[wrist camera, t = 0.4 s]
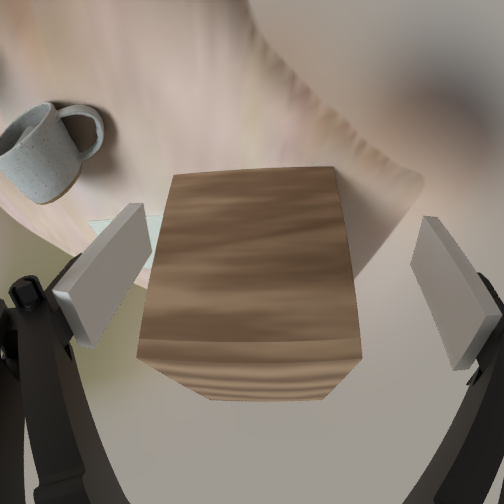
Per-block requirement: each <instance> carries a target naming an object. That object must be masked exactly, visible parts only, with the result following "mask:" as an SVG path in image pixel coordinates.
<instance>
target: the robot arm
mask: <svg viewBox="0 0 504 504" xmlns="http://www.w3.org/2000/svg"><path fill="white" fill-rule="evenodd" d="M151 254H152V247H151V242H150V237H149V232H148V227H147V221H146V216H145V210H144V205H143V203H129V204H128V205H127V206H126V207H125V208H124V209H123V210H122V211H121V212H120V213H119V214H118V215H117V216H116V218H115V219H114V220H113V221H112V222H111V223H110V224H109V225H108V226H107V227H106V228H105V229H104V230H103V231H102V232H101V233H100V235H99V236H98V237H97V238H96V239H95V240H94V241H93V242H92V243H91V244H90V246H89V247H88V248H87V249H86V250H85V251H84V252H83V253H80V254H79V255H77V256H76V257H74V258H73V259H71V260H70V261H69V263H68V264H67V265H66V266H65V268H64V269H63V270H62V271H61V272H60V274H59V275H57V277H56V278H55V279H54V280H53V281H52V283H51V284H50V285H49V286H48V287H47V289H46V290H45V291H43V289H42V286H41V284H40V282H39V280H38V277H36V276H34V275H28V276H24V277H22V278H20V279H18V280H17V281H16V282H15V283H13V284H12V286H11V287H10V289H9V292H8V293H9V294H10V296H11V298H12V301H13V302H14V304H15V306H16V308H7V306H6V304H5V302H4V300H2V299H0V353H1V351H2V352H3V356H2V358H1V354H0V504H26V503H25V489H24V424H25V418H26V423H27V430H28V435H29V439H30V445H31V450H32V454H33V458H34V462H35V466H36V470H37V474H38V478H39V486H38V487H37V488H35V489H34V493H33V496H34V501H35V504H130V503H129V501H128V500H127V498H126V497H125V495H124V493H123V491H122V489H121V487H120V485H119V482H118V480H117V478H116V476H115V474H114V471H113V469H112V467H111V464H110V462H109V460H108V457H107V455H106V452H105V450H104V447H103V445H102V442H101V440H100V437H99V434H98V432H97V429H96V426H95V423H94V420H93V418H92V415H91V412H90V409H89V406H88V402H87V400H86V396H85V393H84V389H83V386H82V383H81V380H80V376H79V372H78V368H77V364H76V360H75V356H74V352H73V348H72V346H71V344H70V342H69V341H70V340H71V338H72V336H73V335H74V337H75V339H76V340H77V343H78V344H79V345H80V346H84V347H88V348H93V349H95V348H96V346H97V344H98V342H99V340H100V338H101V337H102V335H103V333H104V331H105V330H106V328H107V326H108V324H109V322H110V321H111V319H112V317H113V316H114V314H115V312H116V310H117V309H118V307H119V305H120V304H121V302H122V300H123V299H124V297H125V295H126V294H127V292H128V290H129V289H130V287H131V285H132V284H133V282H134V281H135V279H136V277H137V276H138V274H139V273H140V271H141V269H142V268H143V266H144V265H145V263H146V261H147V260H148V258H149V257H150V255H151ZM411 267H412V269H413V272H414V274H415V276H416V278H417V281H418V283H419V285H420V287H421V289H422V292H423V294H424V296H425V299H426V301H427V303H428V306H429V308H430V311H431V313H432V316H433V318H434V321H435V323H436V326H437V328H438V331H439V333H440V336H441V339H442V341H443V344H444V347H445V349H446V352H447V355H448V358H449V361H450V364H451V367H452V369H453V371H457V370H465V369H469V368H470V367H471V365H472V364H473V362H474V361H475V359H477V361H478V364H479V367H478V369H477V370H476V372H475V373H474V374H473V376H472V377H471V378H470V380H469V381H468V382H467V384H466V385H469V384H470V386H469V388H468V390H467V392H466V395H465V397H464V399H463V401H462V403H461V406H460V408H459V410H458V412H457V414H456V416H455V418H454V420H453V422H452V424H451V426H450V428H449V430H448V432H447V434H446V435H445V437H444V439H443V441H442V443H441V445H440V446H439V448H438V450H437V452H436V453H435V455H434V457H433V458H432V460H431V462H430V463H429V465H428V466H427V468H426V470H425V471H424V473H423V475H422V476H421V478H420V479H419V481H418V482H417V484H416V485H415V486H414V488H413V489H412V491H411V492H410V494H409V495H408V497H407V498H406V499H405V501H404V502H403V504H483V502H484V500H485V498H486V496H487V494H488V492H489V490H490V488H491V486H492V483H493V481H494V479H495V476H496V474H497V472H498V469H499V467H500V464H501V462H502V459H503V456H504V304H503V302H502V301H501V299H500V298H499V297H498V294H497V293H496V291H495V290H494V288H493V286H492V285H491V283H490V282H489V280H488V279H487V278H486V277H484V276H483V275H482V274H481V273H477V272H476V271H475V269H474V268H473V266H472V265H471V263H470V262H469V260H468V259H467V257H466V256H465V255H464V253H463V252H462V250H461V249H460V247H459V246H458V244H457V243H456V242H455V240H454V239H453V238H452V236H451V235H450V233H449V232H448V231H447V230H446V228H445V227H444V225H443V224H442V223H441V222H440V220H439V219H438V218H437V217H430V216H423V220H422V224H421V228H420V232H419V236H418V239H417V243H416V247H415V250H414V254H413V257H412V261H411ZM498 504H504V480H503V484H502V489H501V493H500V498H499V502H498Z"/></svg>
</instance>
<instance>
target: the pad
mask: <svg viewBox="0 0 504 504" xmlns="http://www.w3.org/2000/svg"><path fill="white" fill-rule="evenodd" d="M162 219H163V215H158V216H146V221H147V227H148V232H149V237H150V242H151V247H152V254H151V255H150V257H149V258H148V260H147V261H146V263H145V265H144V266H143V268H152V264H153V259H154V255H155V250H156V245H157V241H158V236H159V232H160V228H161V223H162ZM113 220H114V219H109V220H98V221H89V223H88V224H89V225H90V227H91V228H92V229H93V231H94V232H95V233H96V235H97V236H99V235H100V233H101V232H102V231H103V230H104V229H105V228H106V227H107V226H108V225H109V224H110V223H111V222H112V221H113Z"/></svg>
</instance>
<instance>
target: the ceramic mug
mask: <svg viewBox="0 0 504 504" xmlns="http://www.w3.org/2000/svg"><path fill="white" fill-rule="evenodd" d="M76 114H79V115H85V116H87V117H91V118H93V119H94V121H95V123H96V128H97V129H96V133H97V135H98V138H97V140H96V142H95V143H94V144H92V145H91V146H90V147H89V148H87V149H86V150H84V151H82V152H79V150H78V149H77V147H76V145H75V143H74V142H73V140H72V139H71V137H70V135H69V134H68V132H67V130H66V128H65V126H64V124H63V122H62V120H61V118H62V117H66V116H70V115H76ZM103 139H104V123H103V120H102V118H101V116H100V115H99V113H98V112H97V111H96V110H95V109H94V108H92V107H89V106H86V105H73V106H68V107H65V108H62V109H60V110H56V109H55V107H54V105H53V104H52V103H50V102H44V103H41V104H38V105H36V106H34V107H32V108H30V109H29V110H27V111H25V112H24V113H23V114H22V115H20V116H19V117H18V118H17V119H15V120H14V121H13V122H12V123H11V124H10V125H9V126H8V127H7V128H6V129H5V131H4V132H3V133H2V134H1V136H0V170H1V171H2V172H3V173H4V174H5V175H6V176H7V177H8V179H9V180H10V181H11V182H12V183H13V184H14V185H15V186H16V187H17V188H18V189H19V190H20V191H21V192H22V193H23V194H24V195H25V196H26V197H27V198H29V199H30V200H32V201H33V202H35V203H37V204H41V205H44V204H48V203H51V202H54V201H56V200H57V199H59V198H60V197H62V196H63V195H64V194H65V193H67V192H68V191H69V190H70V188H71V187H72V186H73V185H74V184H75V182H76V180H77V179H78V177H79V174H80V172H81V168H82V161H85V160H86V159H88V158H90V157H91V156H93V155H94V154H95V153H96V152H97V151H98V150H99V149H100V147H101V145H102V142H103Z"/></svg>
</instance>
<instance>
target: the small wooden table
mask: <svg viewBox="0 0 504 504" xmlns="http://www.w3.org/2000/svg"><path fill="white" fill-rule="evenodd" d="M137 358H138V359H140V360H141V361H143V362H144V363H146V364H148V365H149V366H151V367H152V368H154V369H156V370H157V371H159V372H161V373H162V374H164V375H166V376H168V377H169V378H171V379H173V380H174V381H176V382H178V383H180V384H182V385H183V386H185V387H187V388H189V389H191V390H192V391H194V392H196V393H198V394H200V395H202V396H204V397H205V398H207V399H209V400H222V401H309V400H323V399H324V398H325V397H326V396H327V395H328V394H329V393H330V392H331V391H332V390H333V389H334V388H335V387H336V385H338V384H339V383H340V382H341V381H342V380H343V379H344V378H345V376H346V375H347V374H348V373H349V372H350V371H351V370H352V369H353V368H354V367H355V366H356V365H357V364H358V363H359V361H361V359H362V349H361V338H360V328H359V320H358V311H357V303H356V295H355V287H354V280H353V273H352V266H351V259H350V253H349V247H348V241H347V235H346V229H345V223H344V218H343V213H342V207H341V202H340V197H339V192H338V187H337V182H336V178H335V173H334V169H333V167H290V168H265V169H246V170H230V171H216V172H204V173H192V174H181V175H174V176H173V180H172V183H171V187H170V191H169V195H168V199H167V203H166V207H165V211H164V215H163V219H162V223H161V228H160V232H159V236H158V241H157V245H156V250H155V255H154V259H153V264H152V269H151V274H150V279H149V284H148V289H147V295H146V301H145V307H144V312H143V318H142V324H141V330H140V337H139V343H138V350H137Z"/></svg>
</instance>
